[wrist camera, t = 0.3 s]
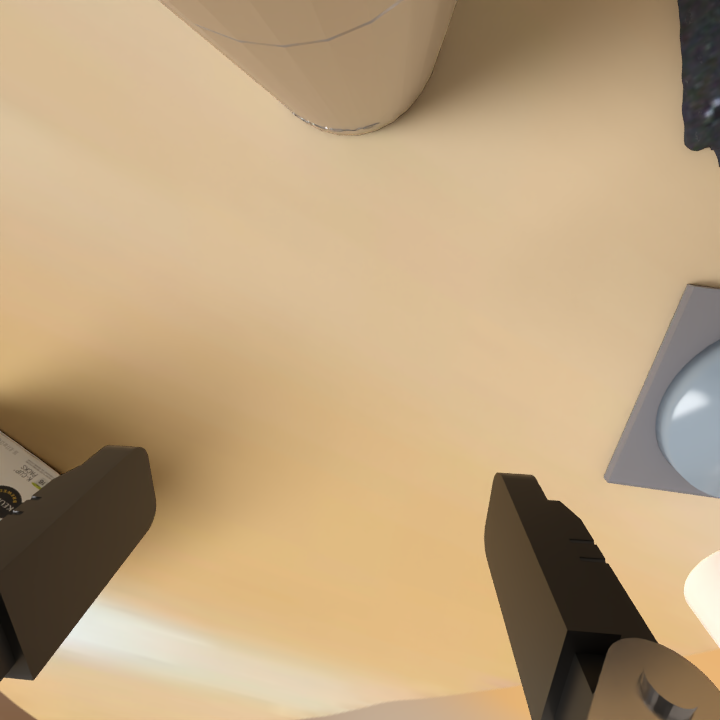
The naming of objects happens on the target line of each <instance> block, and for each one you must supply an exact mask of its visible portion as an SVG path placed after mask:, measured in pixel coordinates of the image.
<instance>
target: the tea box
mask: <svg viewBox="0 0 720 720" xmlns="http://www.w3.org/2000/svg"><path fill="white" fill-rule="evenodd" d="M58 476H60V474H58V473H57V472H56V471H54V470H53V469H52V468H51V467H49V466H48V465H47V464H45V463H44V462H43V461H41V460H40V459H39V458H37V457H36V456H34V455H33V454H32V453H30V452H29V451H27V450H26V449H25V448H23V447H22V446H21V445H19V444H18V443H16V442H15V441H14V440H12V439H11V438H9V437H8V436H6V435H5V434H4V433H2V432H1V431H0V521H1V520H2V519H3V518H4V517H6V516H7V515H12V513H13V510H14V509H16V508H17V507H18V506H20V505H21V504H22V503H23V502H25V501H26V500H30V499H31V496H32V495H33V494H35V493H36V492H37V491H39V490H40V489H41V488H42V487H44V486H45V485H46V484H47V483H49V482H50V481H51V480H52V479H54V478H56V477H58Z"/></svg>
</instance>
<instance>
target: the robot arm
mask: <svg viewBox="0 0 720 720" xmlns="http://www.w3.org/2000/svg"><path fill="white" fill-rule="evenodd" d="M159 1H160V2H161V3H162V4H163V5H165V6H166V7H167V8H168V9H169V10H171V11H172V12H173V13H174V14H175V15H177V16H178V17H179V18H180V19H181V20H183V21H184V22H185V23H186V24H187V25H189V26H190V27H191V28H192V29H193V30H195V31H196V32H197V33H198V34H199V35H201V36H202V37H203V38H204V39H205V40H207V41H208V42H209V43H210V44H211V45H213V46H214V47H215V48H216V49H217V50H219V51H220V52H221V53H222V54H223V55H225V56H226V57H227V58H228V59H229V60H231V61H232V62H233V63H234V64H235V65H237V66H238V67H239V68H240V69H241V70H243V71H244V72H245V73H246V74H247V75H249V76H250V77H251V78H252V79H253V80H255V81H256V82H257V83H258V84H259V85H261V86H262V87H263V88H264V89H265V90H267V91H268V92H269V93H270V94H271V95H273V96H274V97H275V98H276V99H277V100H279V101H280V102H281V103H282V104H283V105H285V106H286V107H287V108H288V109H290V110H291V111H292V113H293V114H294V115H295V116H297V117H298V118H300V119H301V120H303V121H305V122H306V123H308V124H310V125H312V126H314V127H316V128H318V129H320V130H321V131H325V132H329V133H333V134H337V135H361V134H365V133H369V132H373V131H376V130H378V129H380V128H382V127H384V126H386V125H388V124H390V123H392V122H393V121H395V120H396V119H397V118H398V117H399V116H401V115H402V114H403V113H404V112H406V111H407V110H408V109H409V108H410V106H411V105H412V104H413V103H414V101H415V100H416V99H417V98H418V97H419V95H420V94H421V93H422V91H423V89H424V87H425V85H426V83H427V82H428V80H429V78H430V76H431V74H432V71H433V69H434V66H435V63H436V60H437V57H438V54H439V51H440V48H441V46H442V43H443V40H444V38H445V35H446V32H447V29H448V26H449V23H450V20H451V17H452V14H453V11H454V8H455V5H456V2H457V0H159ZM155 511H156V498H155V493H154V487H153V481H152V476H151V470H150V464H149V459H148V454H147V452H146V451H145V449H144V448H141V447H129V446H114V445H108V446H105V447H103V448H102V449H100V450H99V451H98V452H97V453H96V454H94V455H93V456H92V457H91V458H89V459H88V460H87V461H86V462H85V463H83V464H82V465H81V466H78V467H76V468H74V469H72V470H70V471H68V472H66V473H64V474H62V475H60V476H58V477H56V478H54V479H52V480H51V481H50V482H49V483H47V484H46V485H45V486H44V487H42V488H41V489H40V490H39V491H37V492H36V493H35V494H33V495H32V496H31V499H30V500H26V501H25V502H23V503H22V504H21V505H20V506H18V507H17V508H16V509H14V510H13V513H12V515H7V516H6V517H4V518H3V519H2V520H1V521H0V681H1V680H2V679H3V678H4V677H5V678H15V679H24V680H34V679H35V678H36V677H37V675H38V674H39V673H40V671H41V670H42V669H43V667H44V666H45V665H46V664H47V662H48V661H49V660H50V658H51V657H52V656H53V654H54V653H55V652H56V650H57V649H58V648H59V646H60V645H61V644H62V643H63V641H64V640H65V639H66V637H67V636H68V635H69V633H70V632H71V631H72V629H73V628H74V627H75V625H76V624H77V623H78V622H79V620H80V619H81V618H82V616H83V615H84V614H85V612H86V611H87V610H88V608H89V607H90V606H91V605H92V603H93V602H94V601H95V599H96V598H97V597H98V595H99V594H100V593H101V591H102V590H103V589H104V587H105V586H106V585H107V584H108V582H109V581H110V580H111V578H112V577H113V576H114V574H115V573H116V572H117V570H118V569H119V568H120V566H121V565H122V564H123V563H124V561H125V560H126V559H127V557H128V556H129V555H130V553H131V552H132V551H133V549H134V548H135V547H136V546H137V544H138V543H139V542H140V540H141V539H142V538H143V536H144V535H145V534H146V532H147V531H148V530H149V528H150V526H151V524H152V522H153V519H154V516H155ZM484 542H485V552H486V557H487V561H488V565H489V568H490V572H491V576H492V579H493V583H494V586H495V590H496V593H497V597H498V601H499V604H500V608H501V611H502V615H503V618H504V622H505V625H506V629H507V633H508V636H509V640H510V643H511V647H512V650H513V654H514V658H515V661H516V665H517V668H518V672H519V675H520V679H521V683H522V686H523V690H524V693H525V696H526V700H527V704H528V708H529V711H530V715H531V718H532V720H720V691H719V690H718V688H717V687H716V686H715V685H714V683H713V682H711V680H709V678H708V677H707V676H706V675H705V674H704V673H703V672H702V671H700V670H699V669H698V668H697V667H696V666H695V665H693V664H692V663H691V662H689V661H688V660H687V659H685V658H684V657H683V656H681V655H679V654H678V653H676V652H675V651H673V650H671V649H669V648H667V647H665V646H663V645H661V644H658V642H657V641H656V639H655V638H654V636H653V635H652V633H651V631H650V630H649V628H648V627H647V625H646V623H645V622H644V620H643V619H642V617H641V615H640V614H639V612H638V610H637V609H636V607H635V606H634V604H633V602H632V601H631V599H630V598H629V596H628V594H627V593H626V591H625V590H624V588H623V586H622V585H621V583H620V582H619V580H618V578H617V577H616V575H615V574H614V572H613V570H612V569H611V567H610V566H609V564H607V563H606V562H605V558H604V556H603V554H602V553H601V551H600V550H599V548H598V546H597V545H594V540H593V538H592V537H591V535H590V533H589V532H588V530H587V529H586V527H585V525H584V524H583V522H582V521H581V519H580V518H579V517H577V516H576V515H575V514H574V513H573V512H572V511H571V510H569V509H568V508H567V507H566V506H565V505H564V504H563V503H561V502H560V501H554V500H547V498H546V496H545V494H544V493H543V491H542V489H541V487H540V485H539V484H538V482H537V480H536V478H535V477H534V476H533V475H525V474H510V473H496V474H495V476H494V480H493V485H492V490H491V496H490V502H489V507H488V513H487V519H486V524H485V533H484Z"/></svg>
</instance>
